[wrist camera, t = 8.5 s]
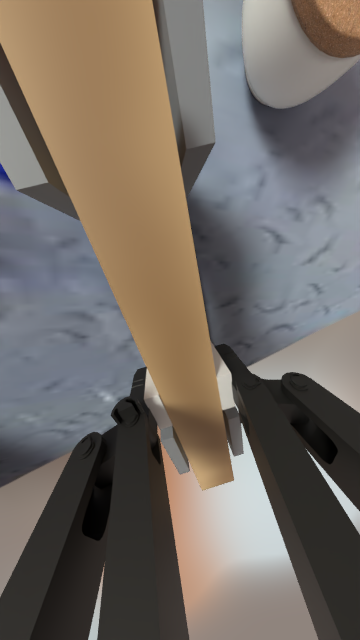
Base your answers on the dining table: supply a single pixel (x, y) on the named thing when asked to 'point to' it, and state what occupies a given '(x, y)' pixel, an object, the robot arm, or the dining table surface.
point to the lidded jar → (298, 47)
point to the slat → (126, 190)
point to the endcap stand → (190, 131)
